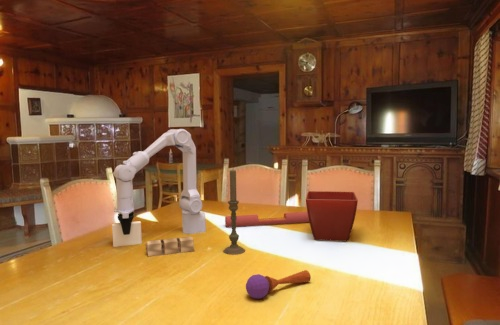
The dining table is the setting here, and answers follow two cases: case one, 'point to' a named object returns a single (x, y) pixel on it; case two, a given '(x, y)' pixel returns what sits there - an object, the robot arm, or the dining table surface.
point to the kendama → (272, 283)
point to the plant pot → (331, 214)
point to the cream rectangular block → (129, 239)
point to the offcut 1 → (154, 247)
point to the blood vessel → (268, 220)
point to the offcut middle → (170, 246)
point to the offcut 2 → (186, 244)
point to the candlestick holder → (233, 218)
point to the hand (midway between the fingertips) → (126, 233)
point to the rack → (163, 248)
